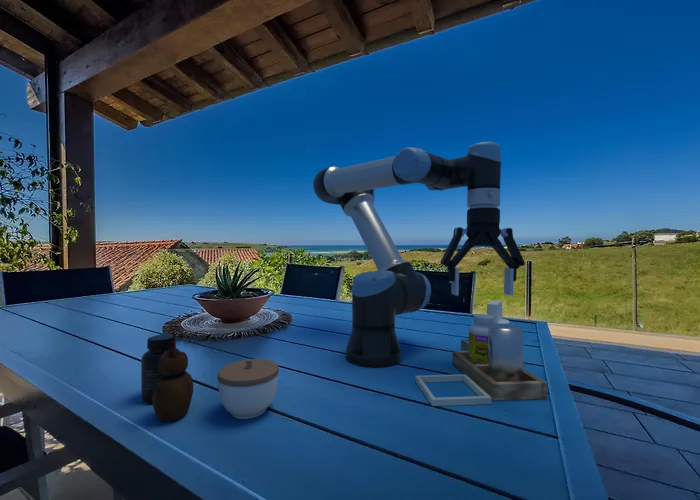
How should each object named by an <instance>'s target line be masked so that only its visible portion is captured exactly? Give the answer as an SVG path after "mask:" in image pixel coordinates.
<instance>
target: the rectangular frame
mask: <svg viewBox="0 0 700 500" xmlns="http://www.w3.org/2000/svg"><path fill="white" fill-rule="evenodd" d="M415 382H416V384H417V386H418V387H419V389H420V390H421V391H422V393H423V395H424V396H425V397H426V399H427V400H428V402H429V404H430V405H431V407H444V406H445V407H446V406H447V407H449V406H474V405H476V406H477V405H492V401H493V399H492V398H491V397H490V396H489V395H488V394H487V393H486V392H485V391H483V390H482V389H481V388H480V387H479V386H478V385H477V384H476V383H475V382H473V381H472V380H471V379H470V378H469V377H468V376H467V375H466V374H464V373H463V374H434V375H433V374H432V375H431V374H429V375H415ZM444 382H447V383H449V382H464V383H465V384H466V385H467V386H468V387H469V388H470V389H471V390H472V391H473V392H475V394H476V395H477V396H476V395H475V396H450V397H449V396H448V397H447V396H446V397H435V396H434V394H433V393H432V392H431V390H430V389H429V387H428V386H427V385H426V383H444Z"/></svg>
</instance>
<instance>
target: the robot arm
mask: <svg viewBox="0 0 700 500" xmlns="http://www.w3.org/2000/svg"><path fill="white" fill-rule="evenodd" d="M501 150H502V149H501V146H500V144H498V143H496V142H493V141H481V142H476V143H473V144H471V145H470V146H469V147H468V149H467V153H466V155H465V156H462V157H455V158H452V159H451V158H449V159H448V158H445V157H444V156H443V157H442V156H441V155H437V154H434V153H431V152H428V151H425V150H423V148H419V147H410V146H407V147H404V148H401V150H400V151H398V152H397V153H396V155H394V156H389V157H385V158H382V159H377V160H372V161H367V162H363V163H359V164H353V165H349V166H345V167H340V166H336V165H335V166H330V167H326V168H323V169H321V170H319V171H318V172H317V173H316V175H315V176H314V178H313V183H312V188H313V191H314V194H315V195H316V196H317V198H318V199H319V200H321V202H324V203H326V204H331V205H339V206H340V208H341V210H342V211H343V213H344V215H345V216H347V217H350V218H351V219H352V221H353V224H354V225H355V228H356V229H357V231H358V233H359V235H360V237H361V239H362V242H363V243H364V246H365V247H366V249H367V251H368V253H369V256H370V257H371V259H372V262H373V263H374V266H375V267H376V269H377V270H373V271H365V272H361V273H358V274H356V275H355V276H354V277H353V279H352V287H351V303H352V304H351V306H352V309H351V315H352V316H351V317H352V320H351V321H352V322H351V323H352V324H351V327H352V328H351V332H350V335H349V339H348V342H347V344H346V345H347V346H346V348H345V358H346V360H347V362H349V363H351V364H353V365H358V366H360V367H361V366H362V367H367V368H368V367H369V368H381V367H383V368H385V367H389V366H394V365H396V364H398V363H400V362H401V361H402V349H401V345H400V342H399V338H398V335H397V332H396V316H398V315H402V314H403V315H404V314H409V313H414V312H415V313H416V312H417V311H420V310H422V309H424V308H425V307H426V306H427V305H428V304H429V302H430V299H431V295H432V286H431V283H430V281H429V279H428V278H427V276H425V274H422V273H420V272H419V271H418V272H417V271H415V268H414V267H413V265H412V263H411V262H410V261H408V260H404V259H403V257H402V254H401V253H400V252H399V250H398V248H397V246H396V245H395V243H394V241H393V239H392V237H391V235H390V234H389V232H388V230H387V228H386V227H385V224H384V222H383V220H382V219H381V217H380V215H379V213H378V212H377V209H376V207H375V206H374V203H375V196H376V195H375V191H376V189H381V188H389V187H397V186H403V185H412V184H420V185H421V184H422V185H425V187H427V189H428V190H429V191H433V192H434V191H445V190H451V189H457V188H464V187H467V188H466V189H467V192H466V193H467V194H466V207H468V209H467V210H466V228H463V227H461V226H458V227H455V228H454V229H453V234H452V236H453V237H452V238H451V240H450V242H449V243H448V246H447V248H446V249H445V251H444V253H443V256H442V258H441V259H440V262H439V263H440V264H441V265H443V266H444V267H445V266H446V267H447V280H448V281H450V282H451V286H450V287H451V288H450V291H451V292H450V293H451V295H453V296H459V291H460V290H459V289H460V268H458V267H457V266H458V265H459V264H460V263H461V261H462V260H463V259H464V258H465V257H466V255H467V254H468V253H469V252H470V251H471V250H472V249H473V248H474V247H491V248H492V249H493V250H494V252H496V254H497V255H498V256H499V257H500V259H501V260H502V261H503V262H504V264H505V265H506V266H507V267H504V272H503V274H504V278H503V280H504V281H503V283H504V284H503V294H504V295H507V296H514V282H516V281H517V270H519V268H520V267H523V266H525V264H526V263H525V260H524V258H523V256H522V253H521V251H520V249H519V246H518V245H517V243H516V241H515V238H514V234H513V231H514V230H513V229H512V228H511V227H506V228H502V229H501V228H500V223H501V209H500V208H499V207H500V206H501V179H502V177H501V175H502V171H501V170H502V162H503V161H502V154H501V153H502V151H501ZM464 236H466V237H467V240H465V241H464V243H463V245H462V246H461V247H460V248H459V250H457V252H456V249H457V248H458V246H459V244H460V242H461V239H462V238H463V237H464ZM499 236H501V237H502V239H503V241H504V243H505V246H506V248H507V249H506V248H505V247H504V246H503V242H502V241H501V240H500V239H499ZM507 250H508V251H507ZM455 252H456V253H455ZM454 254H455V255H454Z"/></svg>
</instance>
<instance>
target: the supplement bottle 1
mask: <svg viewBox="0 0 700 500" xmlns="http://www.w3.org/2000/svg"><path fill="white" fill-rule="evenodd" d="M172 341H173V333H172V334H171V333H170V334H169V333H168V334H167V333H165V334H156V335H152V336H150V337H148V338H147V341H146V342H147V344H146V349H147V351H145V352H144V353H143V354H142V356H141V361H140V366H141V368H140V371H141V373H140V376H141V377H140V378H141V379H140V380H141V382H140V384H141V388H140V390H141V391H140V393H141V395H140V396H141V400H142V402H143V403H144V404H145V403H146V404H151V405H153V403H152V394H153V389H154V386H155V383H156V382H157V380H158V379H159V377H161V376H162V375H161V374H160V373H159V368H158V366H159V360H160V358H161V356H162V355H164V354H166V353H168V352H172ZM176 351H180V350H179V348H177V347H176Z"/></svg>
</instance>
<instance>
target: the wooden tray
mask: <svg viewBox="0 0 700 500" xmlns="http://www.w3.org/2000/svg"><path fill="white" fill-rule="evenodd" d="M452 364H453V365H454V366H455V367H456V368H458V369H459V370H460V371H461V373H463V374H466V375H467V376H468V377H469V378H470V379H471V380H472V381H473V382H475V383H476V384H477V385H478V386H479V387H480V388H481V389H482V390H483V391H485V392H486V393H487V394H488V395H489V396H490V397H491V398H492V401H515V400H518V401H519V400H521V401H523V400H547V399H548V382H546V381H544V380H543V379H541V378H540V377H538V376H536V375H535V374H533V373H531V372H530V371H528V370H527V369H525V368H523V381H513V382H496V381H495V380H493V379H492V378H491V377H490V376H488V364H473V363H472V362H470V361H469V351H461V350H452Z"/></svg>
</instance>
